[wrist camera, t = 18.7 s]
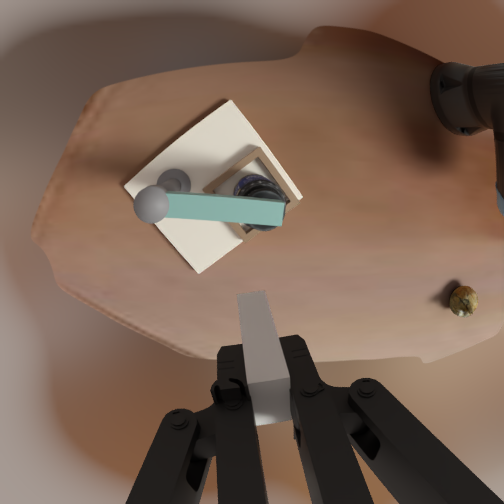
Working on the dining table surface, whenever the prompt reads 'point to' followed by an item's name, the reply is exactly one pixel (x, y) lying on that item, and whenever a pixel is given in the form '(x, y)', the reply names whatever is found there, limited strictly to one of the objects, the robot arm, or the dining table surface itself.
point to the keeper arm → (206, 207)
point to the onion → (463, 301)
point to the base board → (212, 181)
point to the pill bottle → (259, 193)
